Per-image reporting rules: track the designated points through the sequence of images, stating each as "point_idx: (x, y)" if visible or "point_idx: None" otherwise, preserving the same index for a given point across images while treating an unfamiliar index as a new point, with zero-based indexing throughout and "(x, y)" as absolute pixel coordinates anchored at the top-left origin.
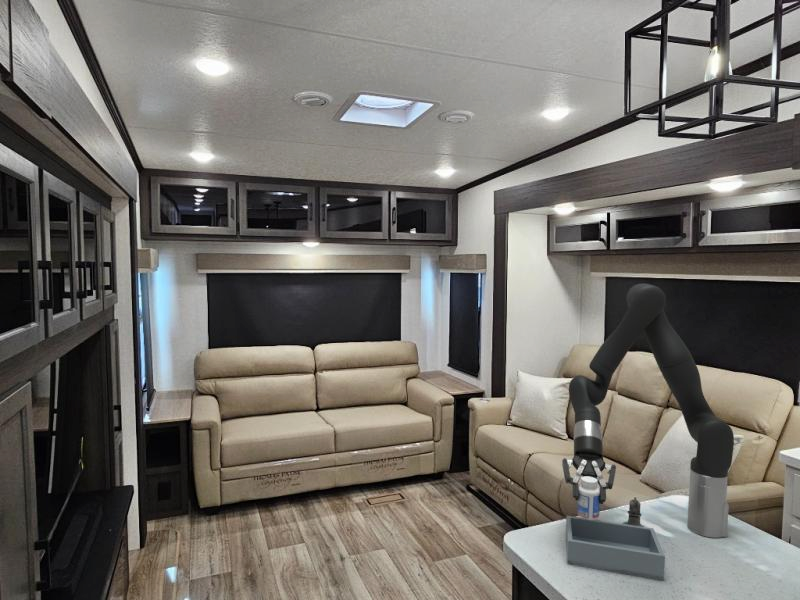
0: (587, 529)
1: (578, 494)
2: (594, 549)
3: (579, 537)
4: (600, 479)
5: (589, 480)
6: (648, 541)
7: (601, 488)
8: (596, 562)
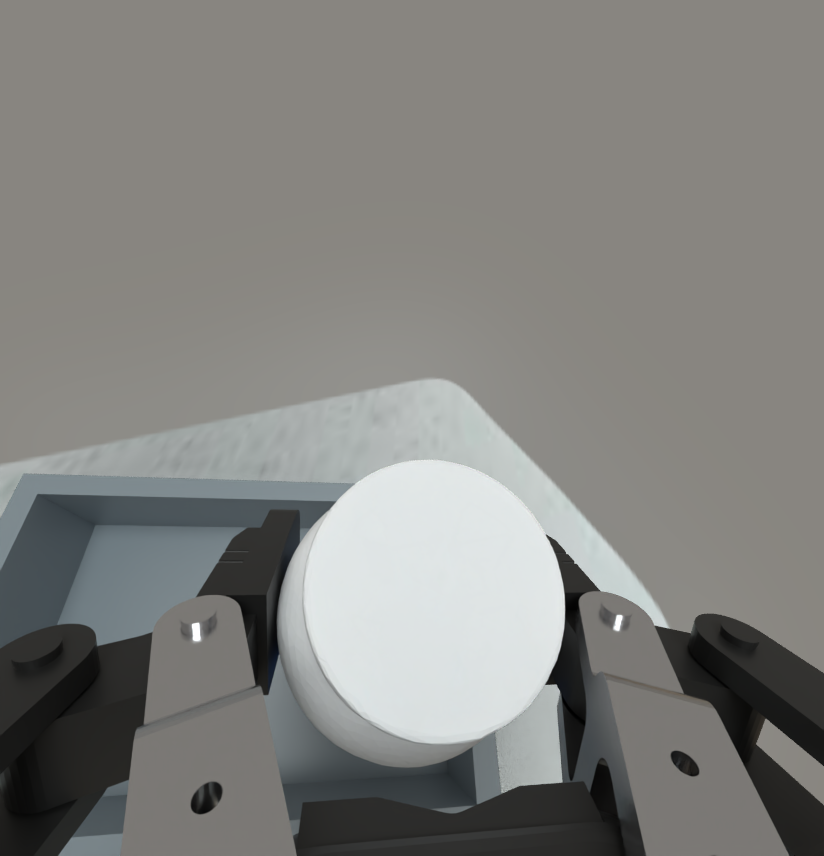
0: (356, 793)
1: None
2: None
3: (397, 767)
4: (218, 692)
5: (435, 521)
6: None
7: (254, 580)
8: None
